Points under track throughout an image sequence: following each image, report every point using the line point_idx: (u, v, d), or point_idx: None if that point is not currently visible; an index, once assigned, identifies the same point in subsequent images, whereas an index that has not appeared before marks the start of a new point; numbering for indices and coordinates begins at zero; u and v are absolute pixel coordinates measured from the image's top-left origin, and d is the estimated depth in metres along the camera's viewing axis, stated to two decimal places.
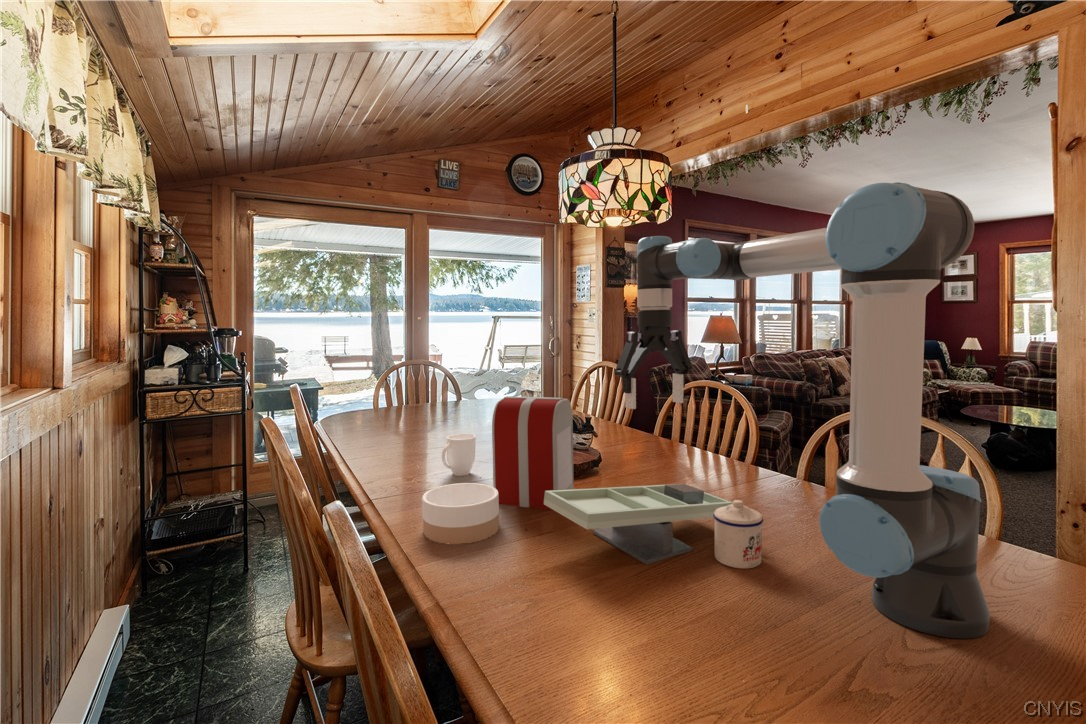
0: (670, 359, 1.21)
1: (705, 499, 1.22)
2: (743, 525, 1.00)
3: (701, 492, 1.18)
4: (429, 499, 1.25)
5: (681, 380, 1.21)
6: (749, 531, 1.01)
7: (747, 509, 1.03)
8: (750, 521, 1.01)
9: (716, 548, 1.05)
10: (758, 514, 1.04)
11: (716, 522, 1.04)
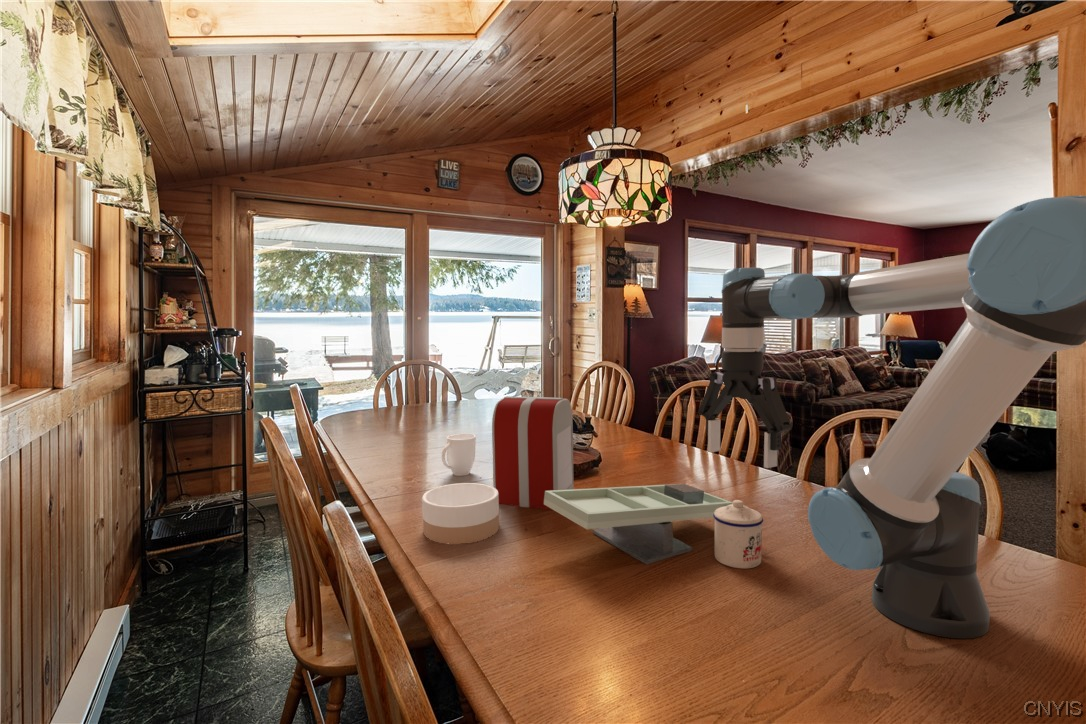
0: None
1: (705, 499, 1.22)
2: (743, 525, 1.00)
3: (701, 492, 1.18)
4: (429, 499, 1.25)
5: (765, 439, 0.98)
6: (749, 531, 1.01)
7: (747, 509, 1.03)
8: (750, 521, 1.01)
9: (716, 548, 1.05)
10: (758, 514, 1.04)
11: (716, 522, 1.04)
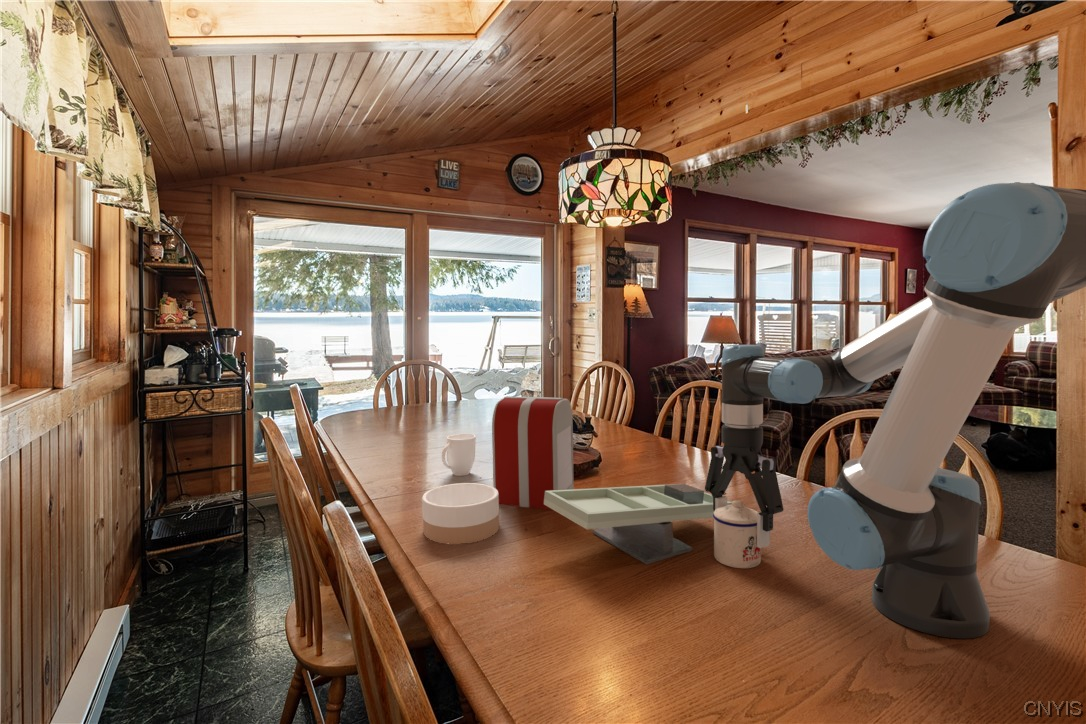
0: None
1: (705, 499, 1.22)
2: (742, 525, 1.00)
3: (701, 492, 1.18)
4: (429, 499, 1.25)
5: (758, 520, 1.01)
6: (749, 531, 1.01)
7: (747, 509, 1.03)
8: (749, 521, 1.01)
9: (716, 548, 1.05)
10: None
11: (716, 522, 1.05)
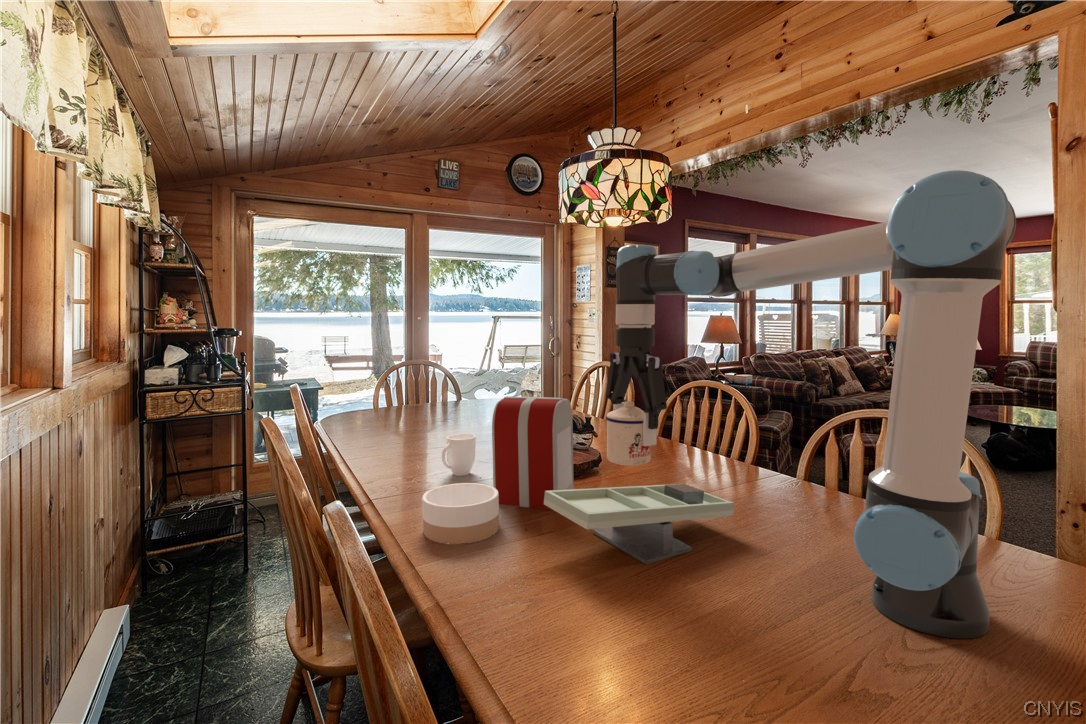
0: None
1: (705, 499, 1.22)
2: (629, 422, 1.02)
3: (701, 492, 1.18)
4: (429, 499, 1.25)
5: (644, 418, 1.02)
6: (635, 428, 1.02)
7: (637, 409, 1.05)
8: (636, 418, 1.02)
9: (607, 447, 1.06)
10: None
11: (607, 422, 1.06)
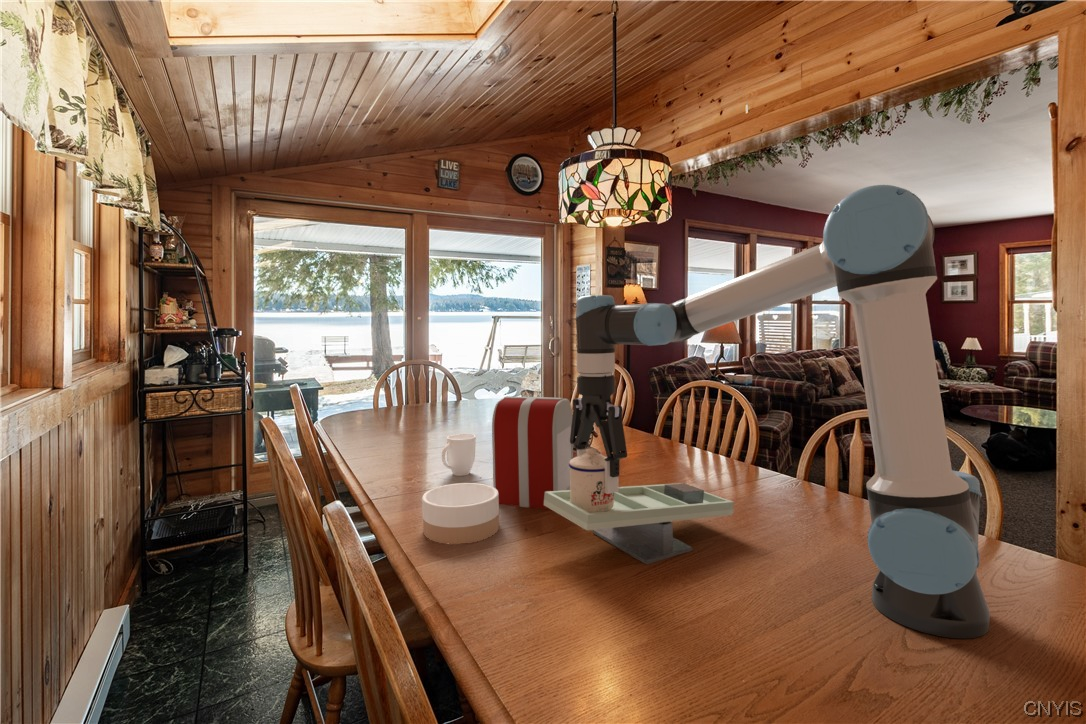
0: None
1: (705, 498, 1.22)
2: (590, 470, 1.03)
3: (701, 491, 1.18)
4: (429, 499, 1.25)
5: (605, 466, 1.03)
6: (597, 476, 1.03)
7: (599, 456, 1.06)
8: (597, 466, 1.03)
9: (570, 494, 1.07)
10: None
11: (570, 469, 1.07)
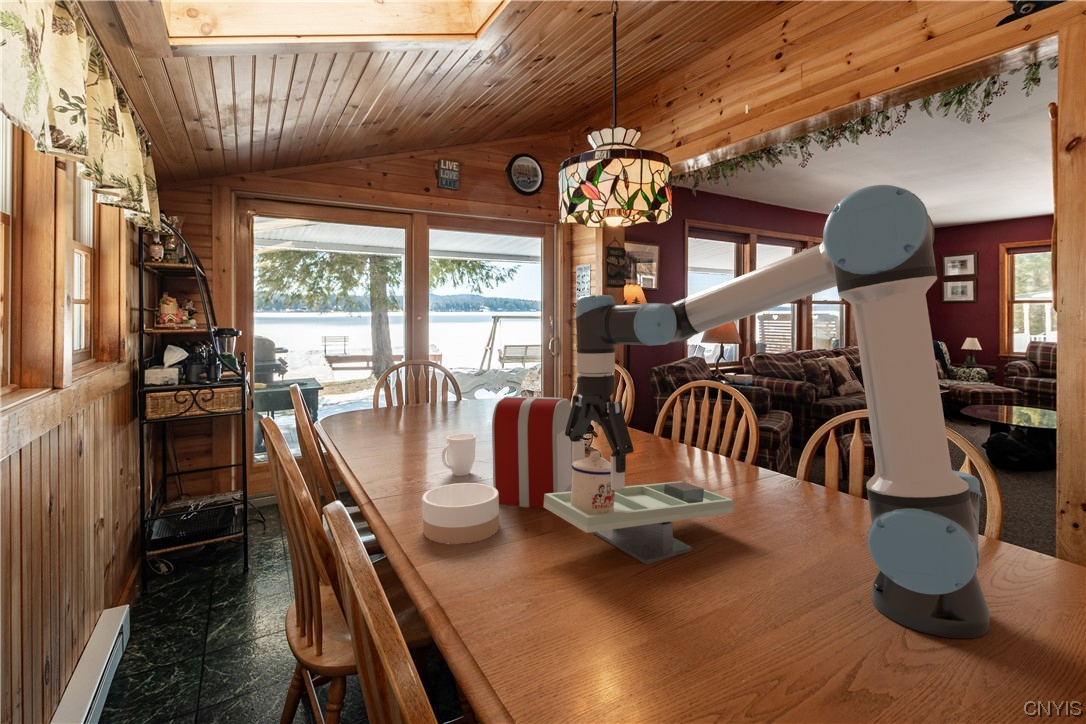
0: None
1: (705, 496, 1.22)
2: (593, 472, 1.03)
3: (701, 490, 1.18)
4: (429, 499, 1.25)
5: (611, 462, 1.01)
6: (599, 479, 1.03)
7: (602, 459, 1.06)
8: (601, 469, 1.03)
9: (571, 496, 1.07)
10: None
11: None
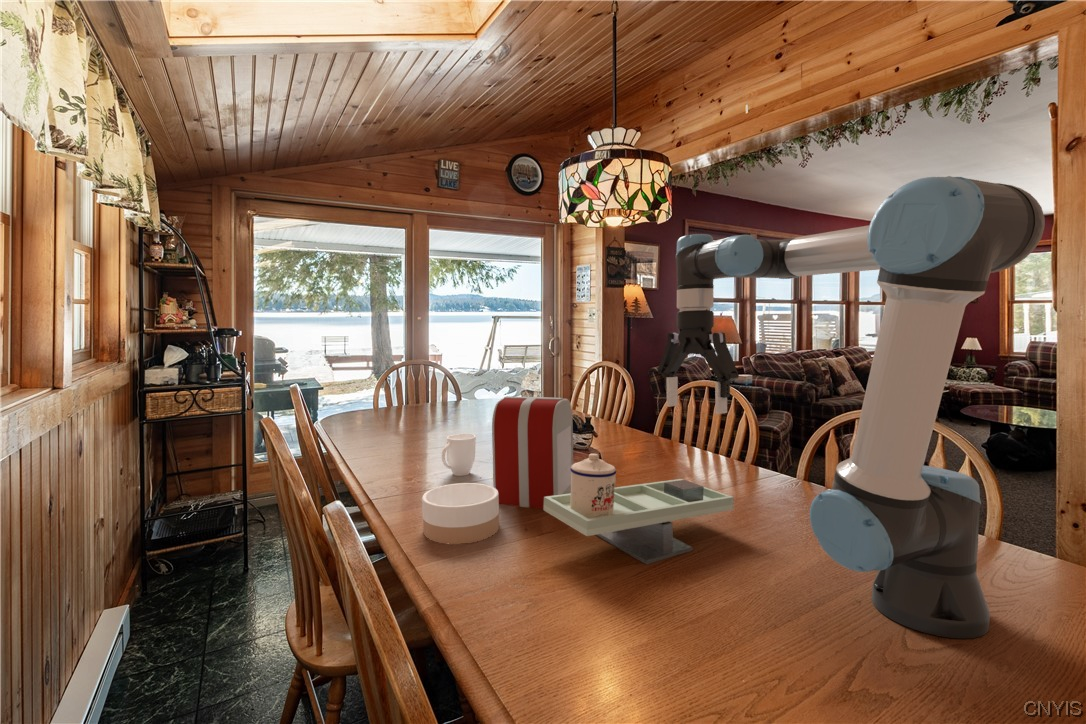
0: None
1: (705, 494, 1.22)
2: (592, 475, 1.03)
3: (701, 488, 1.18)
4: (429, 499, 1.25)
5: (716, 388, 1.09)
6: (598, 481, 1.03)
7: (601, 461, 1.06)
8: (599, 472, 1.03)
9: (571, 499, 1.07)
10: (612, 467, 1.06)
11: (571, 474, 1.07)
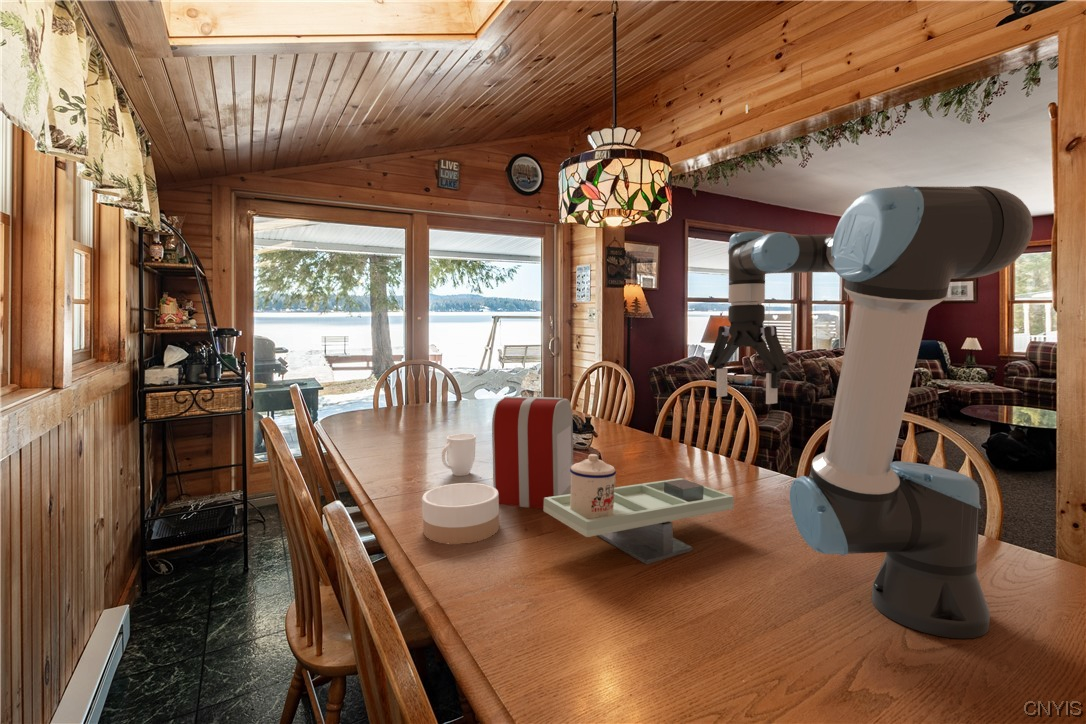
0: None
1: (705, 493, 1.22)
2: (592, 476, 1.03)
3: (701, 487, 1.18)
4: (429, 499, 1.25)
5: (767, 379, 1.14)
6: (598, 482, 1.03)
7: (600, 462, 1.06)
8: (599, 472, 1.03)
9: (570, 500, 1.07)
10: (611, 468, 1.06)
11: (571, 474, 1.07)
